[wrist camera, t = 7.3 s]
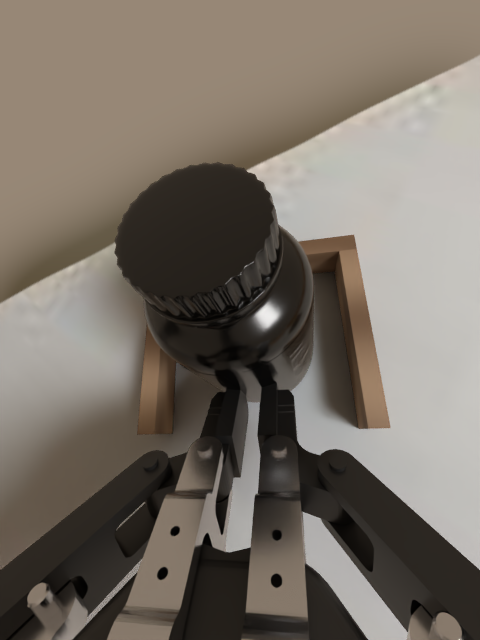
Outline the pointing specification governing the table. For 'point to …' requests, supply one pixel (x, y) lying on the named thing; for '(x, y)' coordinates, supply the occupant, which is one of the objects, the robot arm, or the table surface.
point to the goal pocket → (357, 333)
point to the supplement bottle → (220, 278)
